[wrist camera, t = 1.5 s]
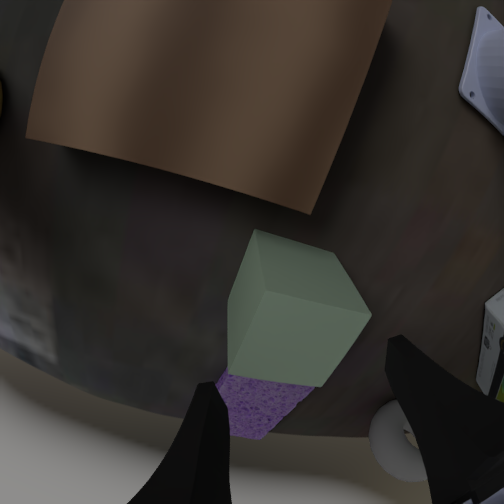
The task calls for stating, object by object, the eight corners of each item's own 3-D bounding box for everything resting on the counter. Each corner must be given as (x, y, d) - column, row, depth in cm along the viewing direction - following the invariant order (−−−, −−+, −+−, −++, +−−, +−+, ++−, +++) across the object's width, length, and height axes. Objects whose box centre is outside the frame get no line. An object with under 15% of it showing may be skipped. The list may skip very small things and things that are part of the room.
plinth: (370, 4, 11) (395, -11, 8) (297, 195, 16) (310, 214, 13) (126, -58, 8) (109, -80, 5) (55, 130, 13) (25, 137, 10)
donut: (350, 411, 26) (377, 496, 17) (369, 391, 25) (403, 480, 16) (416, 410, 28) (445, 476, 19) (434, 391, 27) (469, 459, 18)
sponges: (330, 349, 22) (337, 366, 20) (258, 428, 27) (259, 443, 25) (248, 325, 20) (250, 343, 19) (191, 414, 25) (190, 430, 24)
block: (333, 252, 18) (372, 315, 12) (300, 317, 20) (321, 387, 14) (254, 228, 17) (265, 290, 11) (227, 300, 19) (227, 374, 13)
